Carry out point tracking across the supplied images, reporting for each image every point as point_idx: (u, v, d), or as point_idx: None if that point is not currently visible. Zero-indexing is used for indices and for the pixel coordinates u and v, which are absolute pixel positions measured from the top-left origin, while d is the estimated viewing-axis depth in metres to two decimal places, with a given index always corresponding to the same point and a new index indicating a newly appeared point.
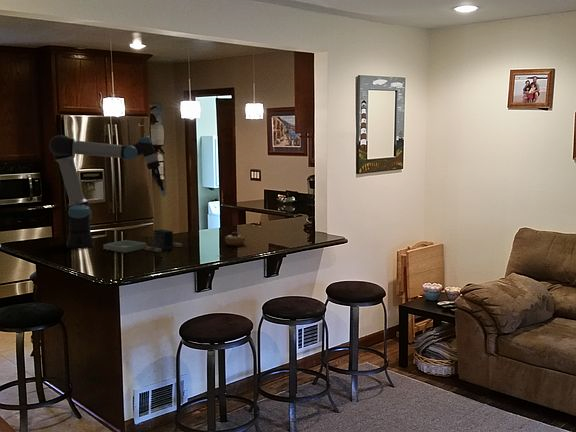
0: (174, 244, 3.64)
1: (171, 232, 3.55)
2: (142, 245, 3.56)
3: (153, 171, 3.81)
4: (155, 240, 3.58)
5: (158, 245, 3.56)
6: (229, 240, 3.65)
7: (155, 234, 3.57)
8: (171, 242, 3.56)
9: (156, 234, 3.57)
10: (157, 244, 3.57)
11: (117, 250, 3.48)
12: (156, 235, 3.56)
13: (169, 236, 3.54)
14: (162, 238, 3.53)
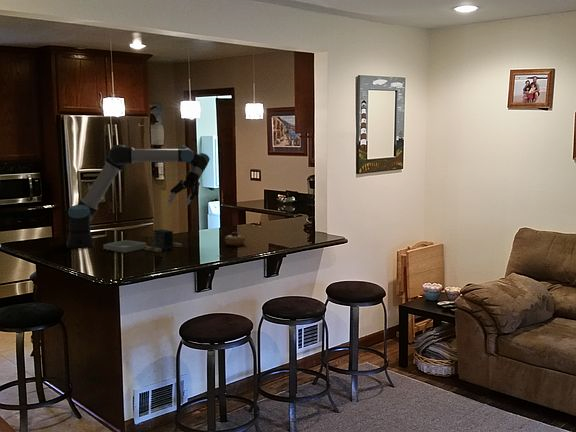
0: (174, 244, 3.64)
1: (171, 232, 3.55)
2: (142, 245, 3.56)
3: (187, 181, 3.74)
4: (155, 240, 3.58)
5: (158, 245, 3.56)
6: (229, 240, 3.65)
7: (155, 234, 3.57)
8: (171, 242, 3.56)
9: (156, 234, 3.57)
10: (157, 244, 3.57)
11: (117, 250, 3.48)
12: (156, 235, 3.56)
13: (169, 236, 3.54)
14: (162, 238, 3.53)
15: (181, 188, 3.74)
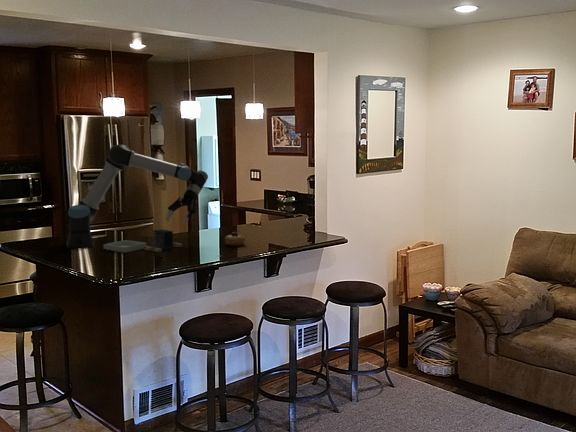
0: (174, 244, 3.64)
1: (171, 232, 3.55)
2: (142, 245, 3.56)
3: (185, 199, 3.72)
4: (155, 240, 3.58)
5: (158, 245, 3.56)
6: (229, 240, 3.65)
7: (155, 234, 3.57)
8: (171, 242, 3.56)
9: (156, 234, 3.57)
10: (157, 244, 3.57)
11: (117, 250, 3.48)
12: (156, 235, 3.56)
13: (169, 236, 3.54)
14: (162, 238, 3.53)
15: (179, 206, 3.72)
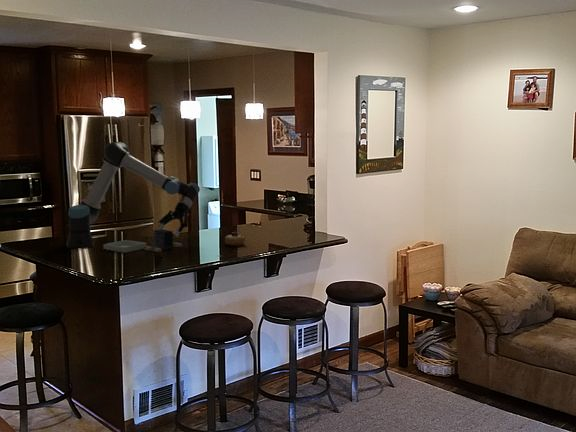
0: (174, 244, 3.64)
1: (171, 232, 3.55)
2: (142, 245, 3.56)
3: (176, 212, 3.66)
4: (155, 240, 3.58)
5: (158, 245, 3.56)
6: (229, 240, 3.65)
7: (155, 234, 3.57)
8: (171, 242, 3.56)
9: (156, 234, 3.57)
10: (157, 244, 3.57)
11: (117, 250, 3.48)
12: (156, 235, 3.56)
13: (169, 236, 3.54)
14: (162, 238, 3.53)
15: (170, 219, 3.66)
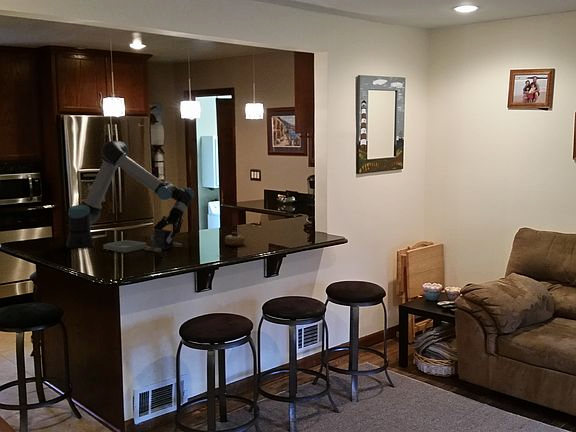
0: (174, 244, 3.64)
1: None
2: (142, 245, 3.56)
3: (170, 217, 3.63)
4: (155, 240, 3.58)
5: (158, 245, 3.56)
6: (229, 240, 3.65)
7: (155, 234, 3.57)
8: (171, 242, 3.56)
9: (156, 234, 3.57)
10: (157, 244, 3.56)
11: (117, 250, 3.48)
12: (156, 235, 3.56)
13: None
14: (162, 238, 3.53)
15: (164, 224, 3.63)
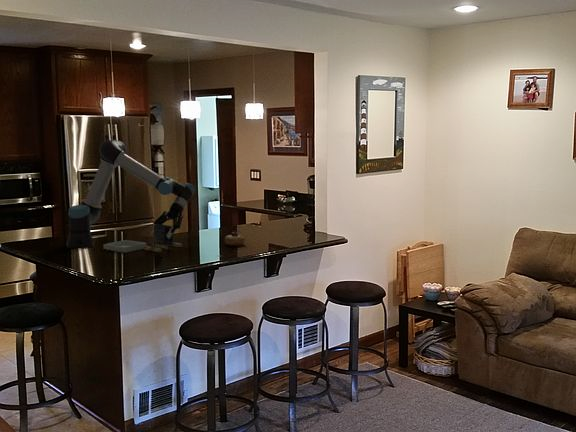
0: (174, 244, 3.64)
1: None
2: (142, 245, 3.56)
3: (171, 212, 3.63)
4: (155, 235, 3.57)
5: (158, 240, 3.55)
6: (229, 240, 3.65)
7: (155, 229, 3.57)
8: (171, 237, 3.55)
9: (156, 229, 3.56)
10: (157, 239, 3.56)
11: (117, 250, 3.48)
12: (157, 230, 3.56)
13: None
14: (162, 233, 3.53)
15: (165, 220, 3.62)
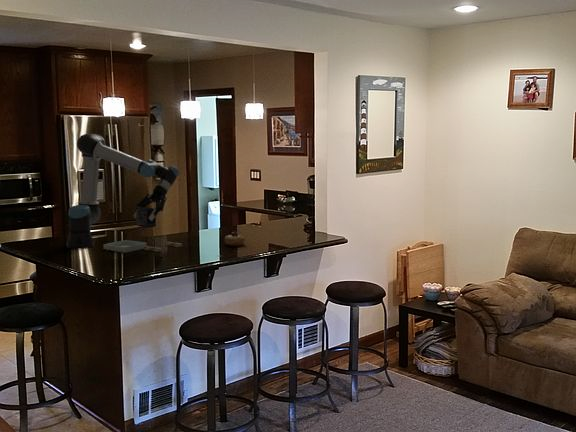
0: (174, 244, 3.64)
1: None
2: (142, 245, 3.56)
3: (154, 195, 3.60)
4: (138, 217, 3.55)
5: (141, 223, 3.53)
6: (229, 240, 3.65)
7: (138, 211, 3.54)
8: (154, 220, 3.53)
9: (139, 211, 3.54)
10: (140, 221, 3.54)
11: (117, 250, 3.48)
12: (139, 212, 3.53)
13: None
14: (144, 215, 3.50)
15: (148, 202, 3.60)
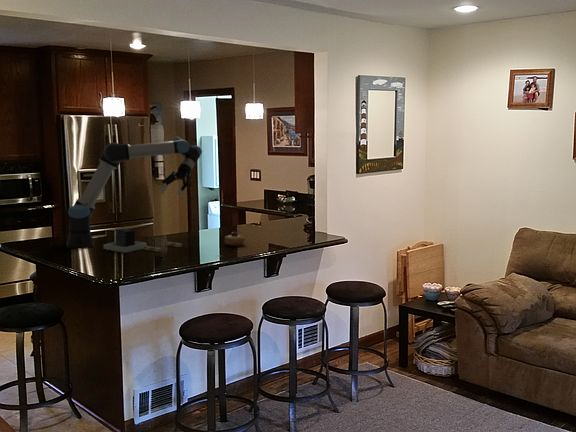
0: (174, 244, 3.64)
1: (133, 231, 3.53)
2: (142, 245, 3.56)
3: (179, 172, 3.79)
4: (117, 239, 3.55)
5: (120, 245, 3.54)
6: (229, 240, 3.65)
7: (117, 233, 3.55)
8: (133, 241, 3.54)
9: (118, 234, 3.55)
10: (119, 243, 3.54)
11: (117, 250, 3.48)
12: (118, 234, 3.54)
13: (130, 236, 3.52)
14: (123, 237, 3.51)
15: (173, 179, 3.79)
